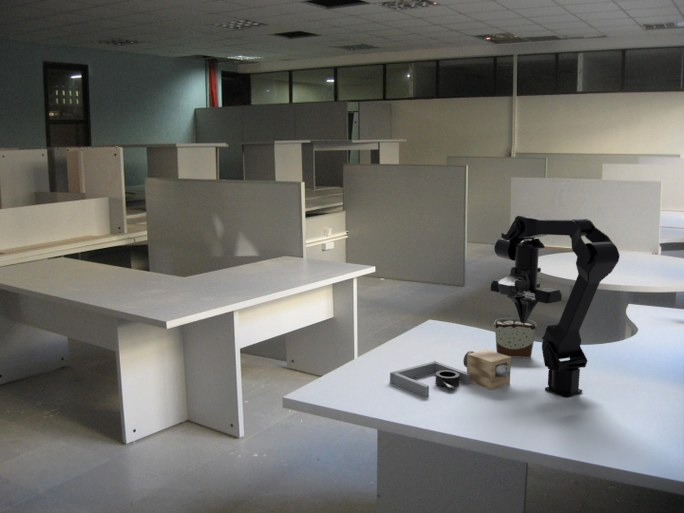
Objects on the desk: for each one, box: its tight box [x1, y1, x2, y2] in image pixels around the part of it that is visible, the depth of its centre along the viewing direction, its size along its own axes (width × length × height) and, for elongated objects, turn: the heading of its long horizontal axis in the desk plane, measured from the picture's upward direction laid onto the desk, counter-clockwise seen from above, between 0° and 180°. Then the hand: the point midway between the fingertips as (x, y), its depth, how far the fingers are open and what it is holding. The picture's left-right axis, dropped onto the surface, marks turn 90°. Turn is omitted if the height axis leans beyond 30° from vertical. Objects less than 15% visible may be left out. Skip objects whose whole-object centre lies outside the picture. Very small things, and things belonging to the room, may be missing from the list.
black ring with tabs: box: [435, 370, 460, 390], centre depth 173 cm, size 8×10×3 cm
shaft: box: [463, 350, 511, 378], centre depth 174 cm, size 12×4×4 cm, turn 37°
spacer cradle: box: [389, 360, 472, 398], centre depth 174 cm, size 13×16×2 cm
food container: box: [492, 317, 539, 359], centre depth 198 cm, size 12×6×10 cm, turn 84°
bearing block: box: [466, 348, 512, 391], centre depth 174 cm, size 8×7×7 cm
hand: (523, 322), depth 182 cm, fingers closed
